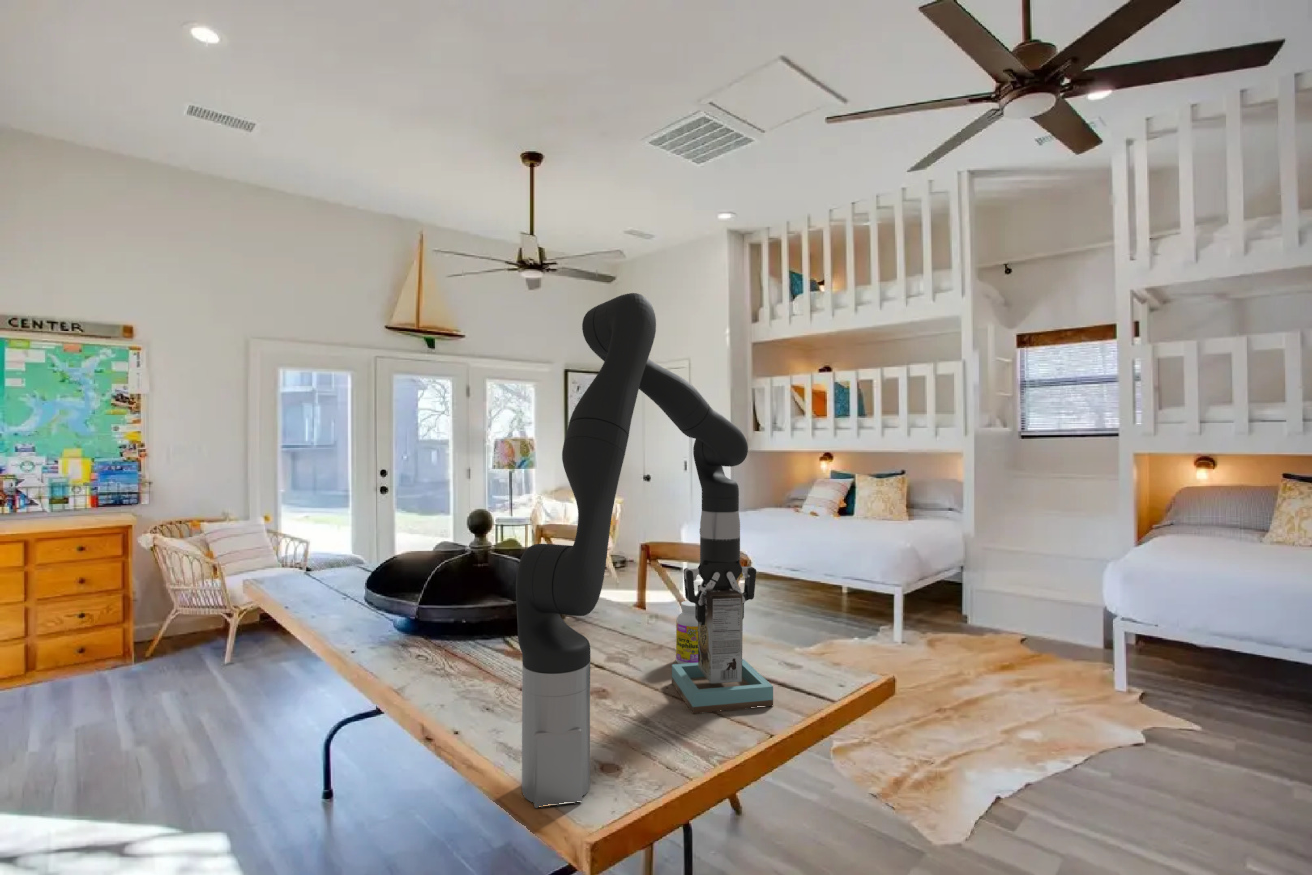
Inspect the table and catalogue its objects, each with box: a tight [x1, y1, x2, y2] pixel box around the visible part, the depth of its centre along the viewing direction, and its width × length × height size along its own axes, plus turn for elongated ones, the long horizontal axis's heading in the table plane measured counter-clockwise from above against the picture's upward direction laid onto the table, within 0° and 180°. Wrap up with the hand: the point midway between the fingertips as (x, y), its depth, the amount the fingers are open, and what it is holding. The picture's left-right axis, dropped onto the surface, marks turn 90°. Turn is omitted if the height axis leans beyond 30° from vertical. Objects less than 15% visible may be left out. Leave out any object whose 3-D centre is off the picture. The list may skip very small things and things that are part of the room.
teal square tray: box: [671, 658, 774, 715], centre depth 122 cm, size 15×15×4 cm
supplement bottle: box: [675, 600, 698, 664], centre depth 140 cm, size 7×7×13 cm
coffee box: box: [697, 584, 744, 684], centre depth 123 cm, size 9×6×16 cm
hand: (719, 622), depth 123 cm, fingers closed on coffee box, 6 cm apart
